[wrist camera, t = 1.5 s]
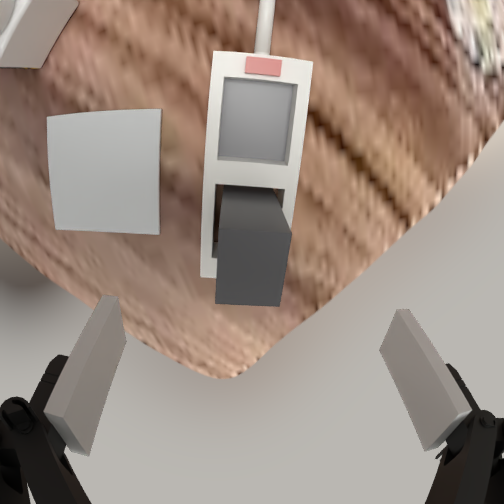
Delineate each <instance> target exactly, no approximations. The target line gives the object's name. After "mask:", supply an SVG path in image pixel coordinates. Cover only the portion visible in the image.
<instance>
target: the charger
mask: <svg viewBox="0 0 504 504" xmlns="http://www.w3.org/2000/svg"><path fill="white" fill-rule="evenodd" d="M291 236H292V232H291V230H290V228H289V225H288V223H287V220H286V218H285V216H284V213H283V211H282V208H281V206H280V204H279V201H278V199H277V197H276V194H275V192H274V190H273V188H266V187H254V186H240V185H226V184H224V188H223V196H222V204H221V213H220V222H219V234H218V252H217V273H216V297H215V304H230V305H251V306H276V307H279V306H280V301H281V295H282V289H283V284H284V278H285V272H286V266H287V260H288V254H289V248H290V242H291Z"/></svg>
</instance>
